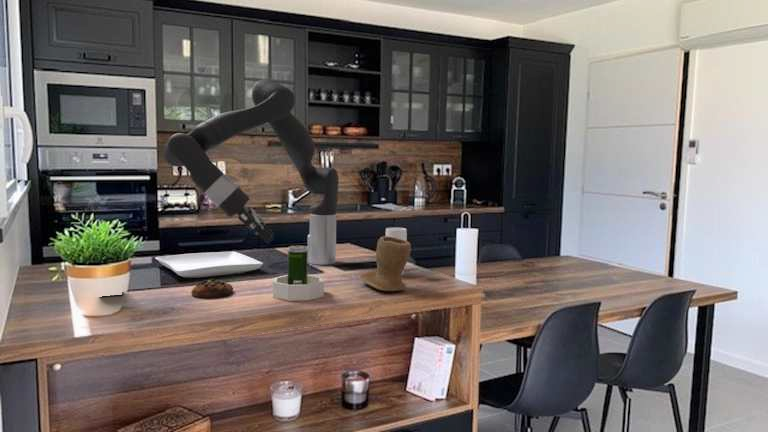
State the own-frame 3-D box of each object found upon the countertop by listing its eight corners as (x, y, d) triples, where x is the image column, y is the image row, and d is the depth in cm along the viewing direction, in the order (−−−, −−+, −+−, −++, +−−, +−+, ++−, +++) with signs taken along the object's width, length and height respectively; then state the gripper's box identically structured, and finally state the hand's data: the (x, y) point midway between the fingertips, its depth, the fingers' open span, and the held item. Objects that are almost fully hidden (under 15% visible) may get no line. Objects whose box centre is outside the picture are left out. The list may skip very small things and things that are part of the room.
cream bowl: (262, 294, 155) (262, 280, 155) (297, 286, 166) (297, 272, 166) (298, 303, 147) (298, 287, 147) (333, 293, 158) (333, 279, 158)
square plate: (264, 273, 184) (264, 261, 183) (176, 283, 168) (176, 270, 168) (234, 260, 206) (234, 249, 205) (154, 267, 190) (154, 255, 190)
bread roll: (213, 300, 148) (211, 281, 148) (182, 300, 153) (180, 282, 153) (242, 293, 158) (241, 275, 158) (212, 293, 163) (211, 276, 163)
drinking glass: (406, 273, 187) (407, 227, 185) (405, 277, 180) (406, 230, 179) (385, 272, 188) (386, 227, 186) (383, 276, 181) (384, 229, 179)
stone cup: (416, 292, 162) (418, 239, 160) (377, 295, 157) (378, 241, 156) (394, 281, 176) (395, 232, 174) (358, 283, 171) (358, 233, 169)
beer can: (309, 292, 155) (309, 248, 154) (289, 293, 153) (289, 248, 152) (305, 287, 160) (305, 245, 159) (285, 288, 158) (286, 245, 157)
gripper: (235, 187, 144) (281, 232, 147) (239, 184, 158) (281, 225, 161) (213, 208, 143) (260, 253, 147) (219, 203, 157) (262, 244, 161)
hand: (271, 239), depth 154 cm, fingers open, 8 cm apart
